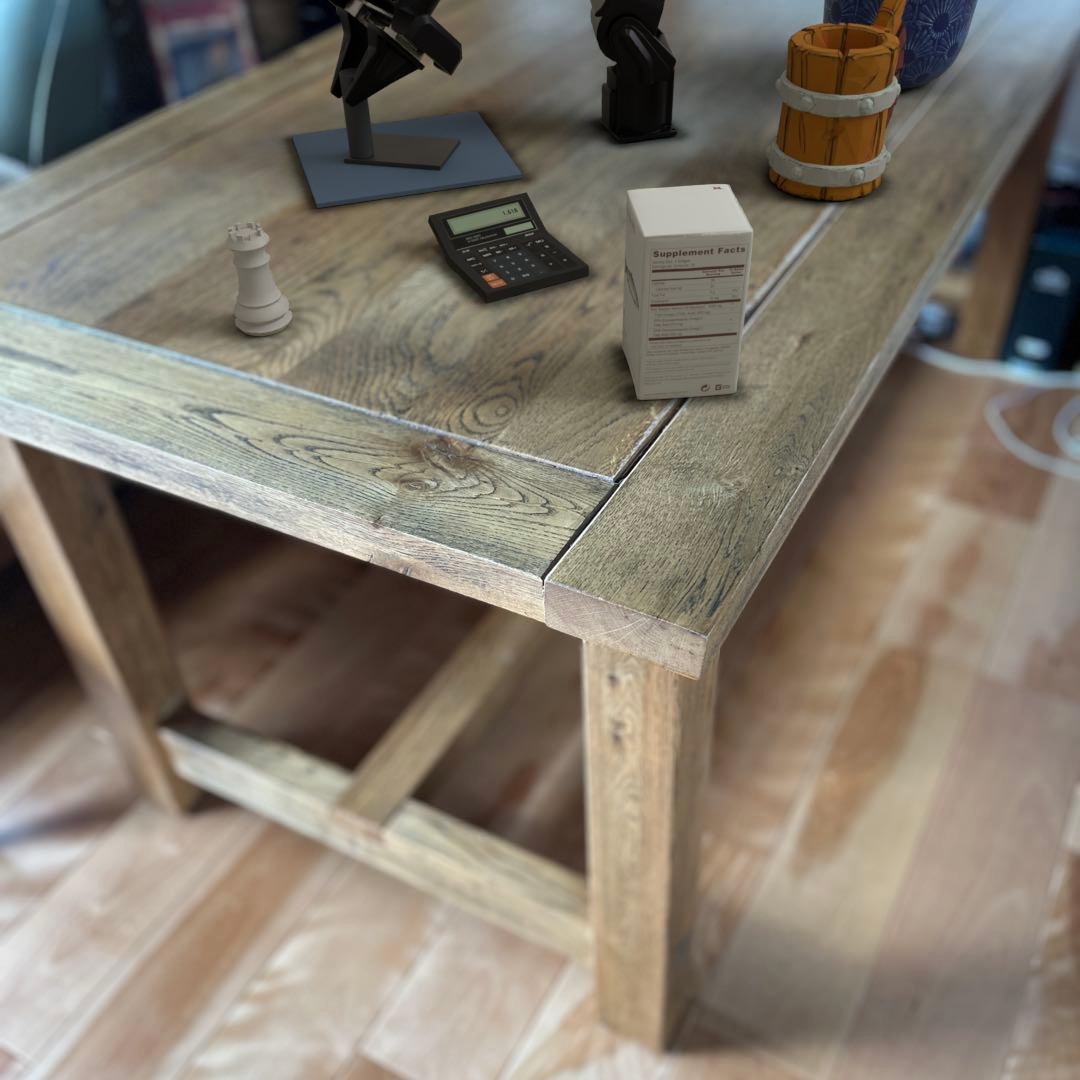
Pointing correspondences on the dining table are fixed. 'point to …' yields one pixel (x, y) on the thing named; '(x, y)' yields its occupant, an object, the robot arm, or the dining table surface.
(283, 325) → the rook chess piece
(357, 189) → the felt mat
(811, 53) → the mug
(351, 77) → the peg stand
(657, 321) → the white packaging box
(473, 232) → the calculator
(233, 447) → the dining table surface
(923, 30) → the planter
